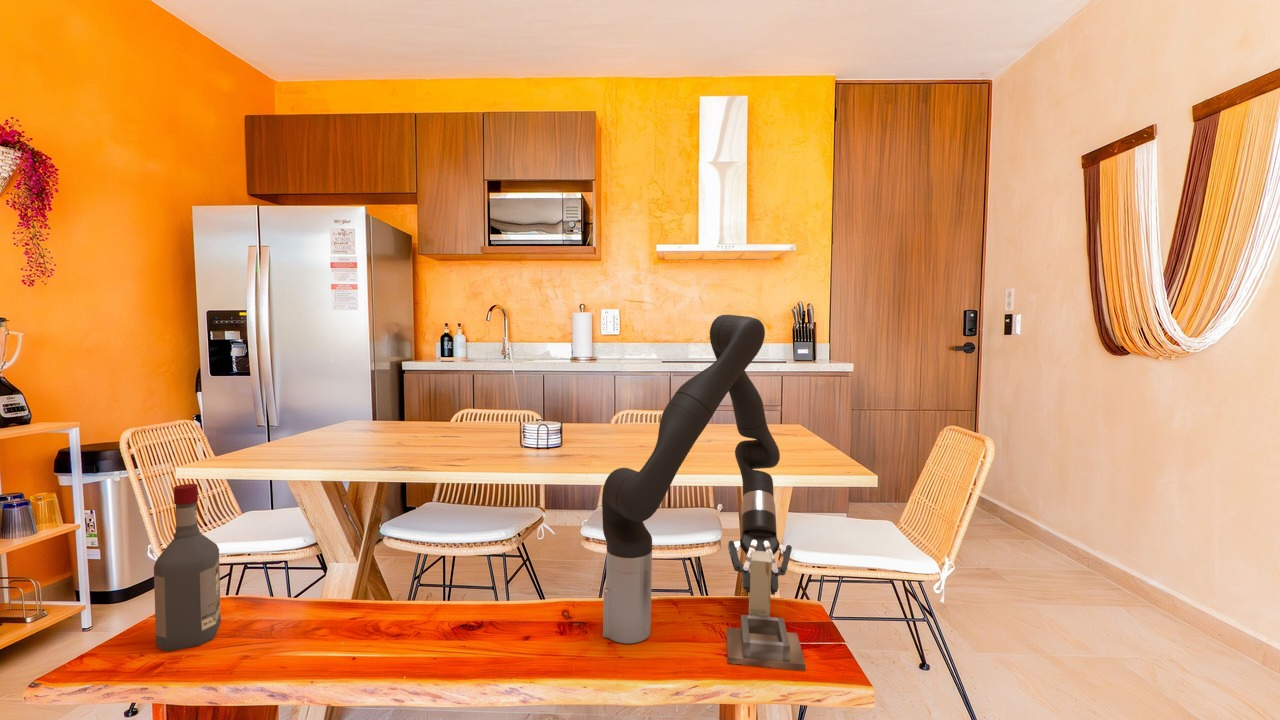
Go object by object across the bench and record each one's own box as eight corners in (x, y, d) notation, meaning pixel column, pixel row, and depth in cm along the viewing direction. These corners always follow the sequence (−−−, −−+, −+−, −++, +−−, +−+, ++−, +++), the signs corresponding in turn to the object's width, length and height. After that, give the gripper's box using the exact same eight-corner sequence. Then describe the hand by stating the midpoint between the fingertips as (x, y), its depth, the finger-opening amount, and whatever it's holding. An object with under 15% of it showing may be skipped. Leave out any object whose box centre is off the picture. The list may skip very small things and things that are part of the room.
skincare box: (769, 621, 118) (772, 562, 117) (748, 618, 119) (750, 560, 118) (769, 606, 124) (771, 551, 124) (748, 604, 125) (750, 548, 124)
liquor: (153, 655, 107) (148, 495, 105) (166, 632, 115) (162, 482, 113) (214, 643, 111) (210, 489, 109) (222, 621, 119) (219, 478, 117)
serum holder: (727, 663, 108) (728, 641, 107) (726, 632, 118) (727, 612, 118) (805, 670, 106) (806, 648, 106) (796, 638, 117) (797, 618, 116)
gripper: (727, 505, 129) (726, 582, 117) (793, 510, 127) (798, 588, 116) (725, 521, 134) (724, 596, 123) (789, 526, 132) (793, 602, 121)
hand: (760, 591), depth 119 cm, fingers closed on skincare box, 4 cm apart
